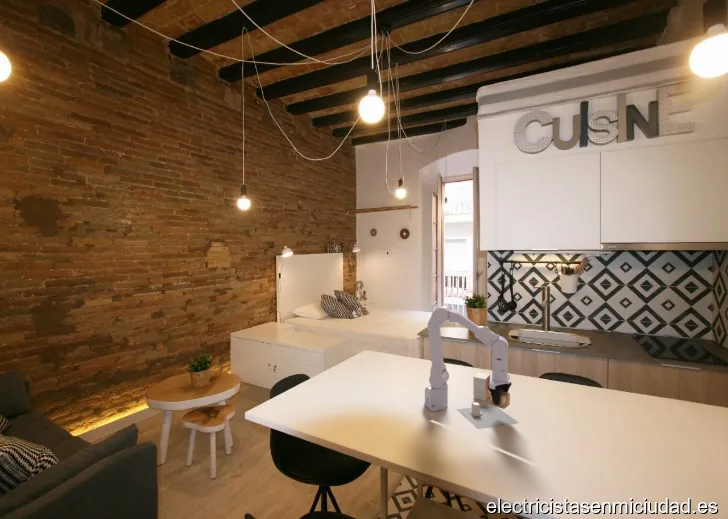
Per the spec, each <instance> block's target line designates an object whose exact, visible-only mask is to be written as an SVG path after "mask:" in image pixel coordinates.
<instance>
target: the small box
mask: <svg viewBox="0 0 728 519" xmlns="http://www.w3.org/2000/svg"><path fill="white" fill-rule="evenodd" d="M490 382H491V374H489V373H485V372H479V371H478V372H477V373H476V374H475V375H474V376H473V383H472V384H473V385H472V386H473V392H472V393H473V399H475V400H480V401H484V402H486V401H487V400H488V398H490V391H489V389H488V385H489V383H490Z"/></svg>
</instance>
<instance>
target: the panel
mask: <svg viewBox="0 0 728 519" xmlns="http://www.w3.org/2000/svg"><path fill="white" fill-rule="evenodd" d="M456 411H457V412H459V413H460V414H461V415H462V416H463V417H464V418H466V419H467V420H468V421H469V422H470V423H471V424H472V425H473V426H474V427H475V428H477V429H478V430H480V429H481V430H482V429H486V428H494V427H499V426H500V427H501V426H502V427H503V426H507V425H515V424H520V421H517V420H516V419H514V418H513V417H512V416H510V415H509V414H508V413H506V411H505V412H504V410H502V409H501V408H499V407H496V406H493V405H490V404H488V405H481V404H480V403H479V402H477V401H475V402H471V407H466V408H458V409H456Z"/></svg>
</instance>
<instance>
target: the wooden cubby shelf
mask: <svg viewBox="0 0 728 519" xmlns="http://www.w3.org/2000/svg"><path fill="white" fill-rule="evenodd" d="M489 405H493V406H496V407H498V408H499V409H501V410H502V409H503V410H505V409H506V408H508V407H509V406H510V405H511V394H510V393H509V392H508V393H507V392H504V391H502V393H501V397H500V404H499V405H496V404H493V400H492V396H491V393H490V396H489Z"/></svg>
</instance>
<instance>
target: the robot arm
mask: <svg viewBox="0 0 728 519" xmlns="http://www.w3.org/2000/svg"><path fill="white" fill-rule="evenodd" d="M447 321H448V323H458V324H459V325H461V326H463V327H465V329H467V330H469V331H471V332H472V333H473V334H474V337H475V338H476V339H477V340H478V341H480V342H482V343H483V344H484V345H486V346H488V347H489V348H490V349H491V350H492V357H491V360H492V362H491V363H492V365H491V367H492V368H491V371H492V372H491V378H490V383H489V385H488V389H489V391H490V393H491V396H492V400H493V404H496V405H499V404H500V397H501V393H502V391H504V392H507V393H509V390H510V388H511V386H512V384H513V383H512V381H511V380H510V379H511V376H510V375H511V374H508V373H509V372H508V369H509V361H508V360H509V358H508V354H509V353H508V348H509V341H508V340H507V339H506V338H505V337H504V336H500V334H499V333H497V334H496V333H495V332H493V331H492V330H490V327H489V326H487V325H486V326H485V325H480V326H479V325H478V324H476V323H475V322H473V321H472V320H470V318H468V317H467V316H466V315H464V314H463V313H461V312H459V311H458V310H457V309H456V308H452V306H451V305H448V304H444V305H442V306H441V307H438V308H436V309H435V310H434V311H432V312H431V316H430V318H429V320H428V322H427V332H428V334H427V335H428V342H429V351H430V359H431V360H430V361H431V367H430V371H429V372H430V373H429V374H430V376H429V379H428V381H429V386H427V387H425V388H424V402H423V404H424V406H426V407H427V409H428V410H430V412H438V411H443V410H445V409H447V408H448V407H450V405H449V404H448V397H449V396H448V395H449V394H448V390H449V389H448V387H449V385H448V383H447V381H448V380H449V378H450V374H449V371H448V369H447V366H446V364H445V363H444V361H445V360H444V356H443V355H444V354H443V345H442V344H443V343H442V337H441V336H442V335H441V326H443V325H444V323H445V322H447Z"/></svg>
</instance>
